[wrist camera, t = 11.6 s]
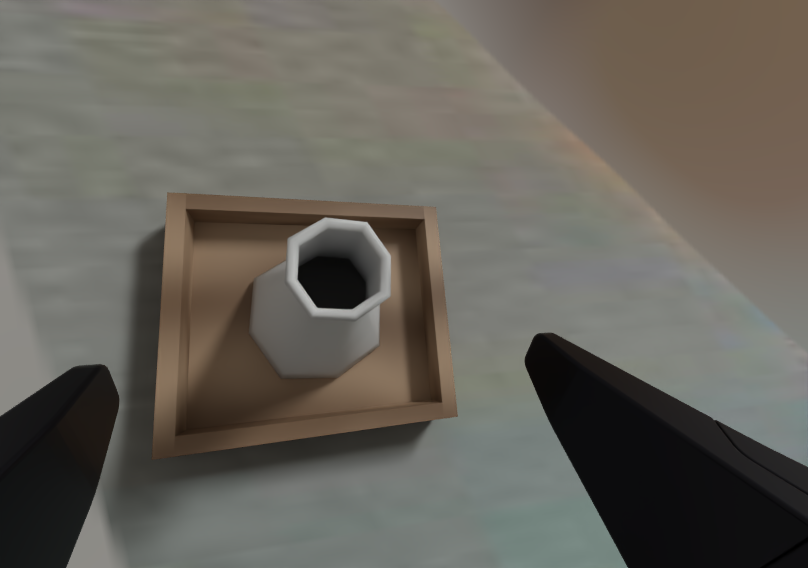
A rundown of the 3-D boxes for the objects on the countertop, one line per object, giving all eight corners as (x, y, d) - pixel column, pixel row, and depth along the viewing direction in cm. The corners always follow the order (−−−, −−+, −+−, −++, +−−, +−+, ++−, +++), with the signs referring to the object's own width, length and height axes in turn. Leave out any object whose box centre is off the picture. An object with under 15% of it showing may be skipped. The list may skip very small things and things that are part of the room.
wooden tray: (439, 410, 21) (457, 416, 19) (171, 446, 17) (151, 459, 15) (421, 222, 24) (435, 206, 21) (182, 213, 19) (167, 192, 17)
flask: (397, 356, 20) (485, 349, 11) (267, 402, 18) (238, 442, 9) (361, 239, 21) (414, 142, 12) (232, 267, 19) (171, 171, 9)
